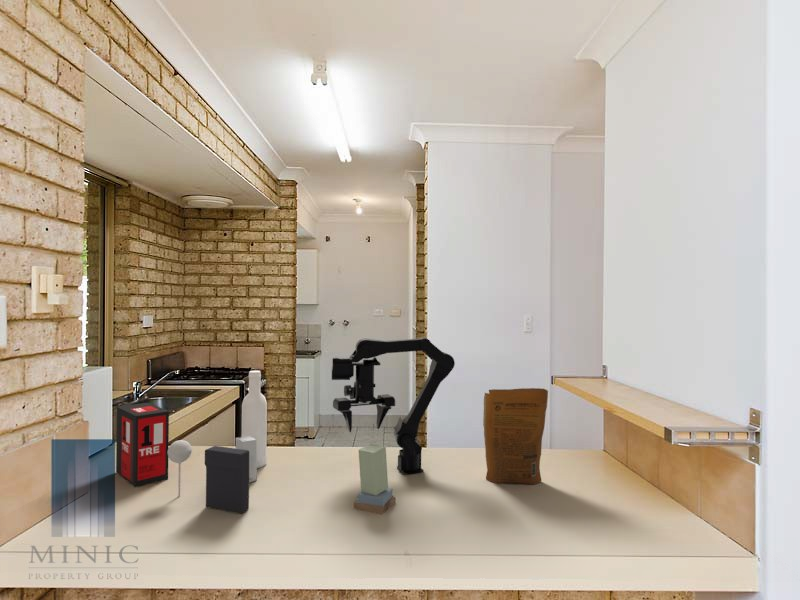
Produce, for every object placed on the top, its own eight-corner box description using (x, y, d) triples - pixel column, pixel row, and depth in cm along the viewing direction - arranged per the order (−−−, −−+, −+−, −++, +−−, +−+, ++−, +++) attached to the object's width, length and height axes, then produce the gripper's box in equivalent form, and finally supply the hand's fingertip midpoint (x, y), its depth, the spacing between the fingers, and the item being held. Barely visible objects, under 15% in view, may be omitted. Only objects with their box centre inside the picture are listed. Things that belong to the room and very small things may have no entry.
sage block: (373, 484, 131) (370, 443, 131) (388, 488, 128) (385, 446, 128) (361, 491, 127) (358, 449, 127) (376, 495, 124) (373, 452, 124)
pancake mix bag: (549, 487, 141) (551, 390, 141) (483, 485, 142) (484, 388, 142) (544, 479, 148) (545, 386, 148) (480, 476, 149) (481, 384, 149)
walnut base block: (368, 499, 133) (368, 491, 133) (395, 504, 130) (395, 496, 130) (353, 510, 126) (353, 502, 126) (381, 516, 122) (381, 508, 122)
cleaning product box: (116, 472, 149) (116, 406, 149) (147, 465, 156) (147, 402, 156) (135, 487, 138) (136, 416, 138) (168, 479, 144) (168, 411, 144)
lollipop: (196, 494, 133) (197, 439, 133) (178, 502, 128) (179, 444, 128) (180, 490, 136) (180, 436, 136) (161, 498, 130) (162, 441, 130)
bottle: (271, 462, 160) (272, 370, 160) (258, 470, 153) (259, 373, 153) (249, 459, 162) (250, 369, 162) (235, 467, 155) (236, 372, 155)
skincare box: (257, 480, 144) (258, 439, 144) (242, 484, 141) (243, 441, 141) (249, 474, 149) (249, 434, 149) (234, 478, 146) (235, 437, 146)
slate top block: (368, 492, 132) (368, 484, 132) (392, 496, 130) (392, 488, 130) (357, 502, 125) (357, 494, 125) (382, 506, 123) (382, 497, 123)
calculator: (250, 508, 125) (251, 449, 125) (240, 515, 121) (240, 454, 121) (215, 502, 128) (216, 444, 128) (203, 508, 124) (204, 449, 124)
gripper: (382, 374, 163) (381, 421, 163) (328, 377, 155) (327, 426, 155) (396, 379, 153) (395, 429, 153) (338, 383, 145) (338, 435, 145)
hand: (364, 430), depth 152 cm, fingers open, 9 cm apart
